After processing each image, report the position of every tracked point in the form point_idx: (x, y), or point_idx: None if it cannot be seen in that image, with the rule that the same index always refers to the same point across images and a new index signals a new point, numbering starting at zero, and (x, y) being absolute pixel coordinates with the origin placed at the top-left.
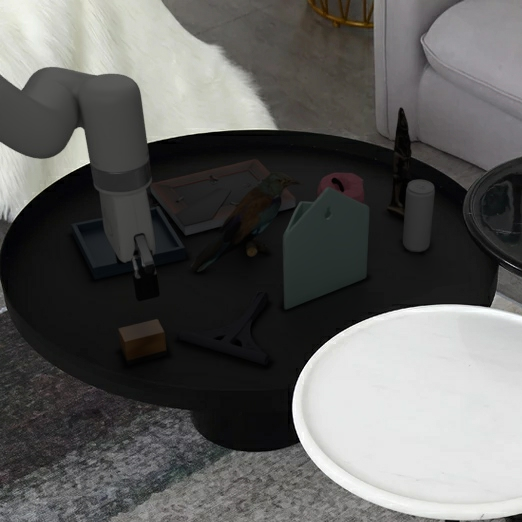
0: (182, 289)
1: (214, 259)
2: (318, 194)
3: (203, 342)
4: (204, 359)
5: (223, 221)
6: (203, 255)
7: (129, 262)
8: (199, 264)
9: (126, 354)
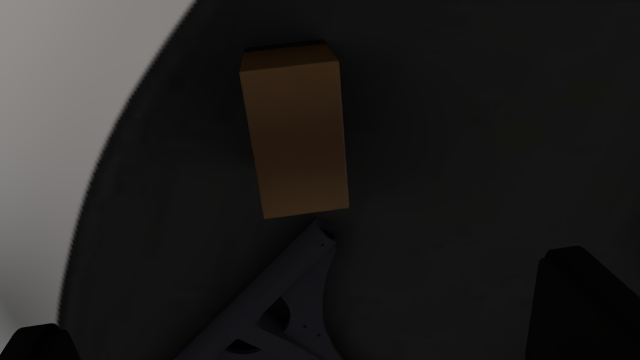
0: (543, 252)
1: None
2: None
3: (263, 280)
4: (219, 259)
5: None
6: None
7: (532, 312)
8: None
9: (242, 58)
